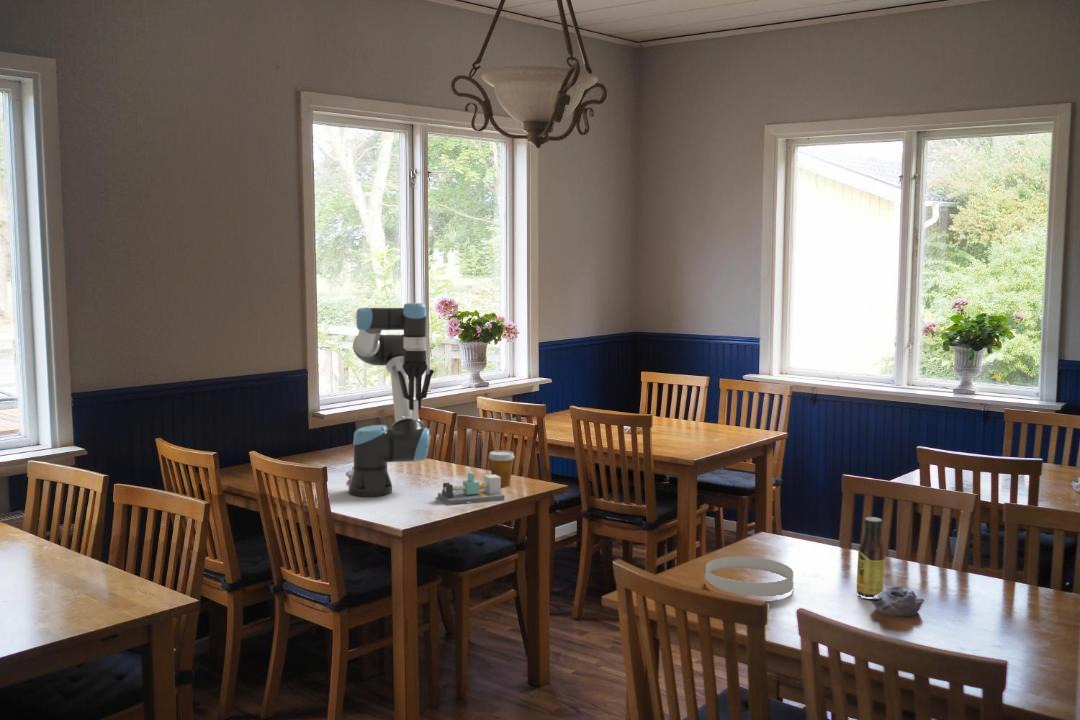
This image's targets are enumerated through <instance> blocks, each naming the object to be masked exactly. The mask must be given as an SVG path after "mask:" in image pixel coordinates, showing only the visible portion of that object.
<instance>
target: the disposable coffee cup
mask: <svg viewBox="0 0 1080 720" xmlns="http://www.w3.org/2000/svg"><path fill="white" fill-rule="evenodd" d="M488 459H489V465H490V472H491V474H490V475H497V476H499V477H501V488H504V487H505V486H507V487H509V485H511V478H512V472H513V471H512V470H513V464H514V459H515V455H514V452H512V451H510V450H509V451H508V450H493V451H490V452H489V455H488ZM505 488H506V487H505Z"/></svg>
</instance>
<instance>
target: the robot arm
mask: <svg viewBox="0 0 1080 720" xmlns="http://www.w3.org/2000/svg"><path fill="white" fill-rule="evenodd" d="M427 313H428V312H427V306H426V304H425V303H418V302H416V303H415V302H407V303H404V304H403V307H369V306H368V307H360V308H358V309H357V310H356V314H355V320H356V322H355V323H356V328H357V330H358V333H357V335H356V336H355V337H354V340H353V343H352V349H353V352H354V354H355V355H356V356H357V358H358V359H359V360H360V361H362V362H364V363H366V364H368V365H370V366H371V365H372V366H385V369H386V371H387V372H388V373H390V380H391V391H392V403H393V410H394V411H393V413H394V423H392V425H391V428H390V429H389V428H388V427H387V425H385V424H373V425H366V426H362V427H360V428H358V429H356V430H355V431H354V433H353V442H352V445H353V472H352V476H351V478H350V482H349V484H348V494H350V495H351V496H355V497H366V498H367V497H368V498H369V497H370V498H371V497H373V498H374V497H382V496H386V495H390V494H391V493H392V492H393V484H392V481H391V478H390V475H389V474H390V473H389V471H388V463H401V462H402V463H403V462H405V463H406V462H414V463H415V462H421V461H425V460H426V459H427V457H428V454H429V453H428V452H429V447H430V445H429V444H430V429H429V428H428V427H425V424H424V422H423V421H422V420H420V418H419V415H420V414H419V411H420V410H421V409H422V400H423V399H426V398H427V397H428V392H429V388H430V384H431V378H432V376H433V375H434V372H435V371H434V370H433V369H432V368H429V367H428V364H427V351H426V348H427V315H428V314H427ZM382 331H403V333H402V334H382ZM424 374H425V376H424V380H423V375H424ZM422 380H423V385H422Z"/></svg>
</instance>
